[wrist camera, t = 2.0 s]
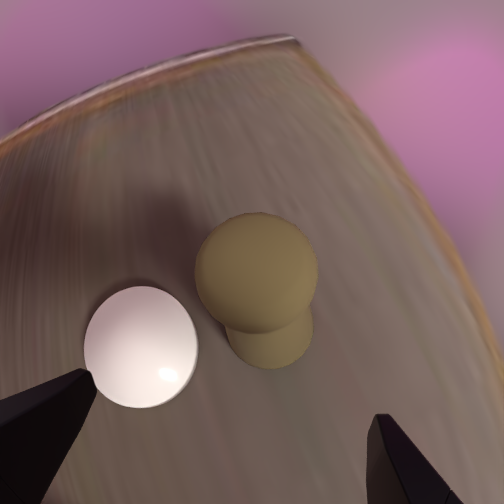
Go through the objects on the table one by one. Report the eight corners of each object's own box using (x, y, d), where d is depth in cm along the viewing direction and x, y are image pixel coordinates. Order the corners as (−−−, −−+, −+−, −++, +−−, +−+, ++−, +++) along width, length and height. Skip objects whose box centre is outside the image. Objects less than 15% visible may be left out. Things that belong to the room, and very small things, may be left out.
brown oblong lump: (221, 293, 23) (172, 205, 14) (303, 278, 23) (310, 178, 14) (232, 376, 21) (179, 345, 11) (322, 359, 20) (351, 314, 11)
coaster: (139, 432, 19) (133, 433, 18) (73, 345, 23) (66, 342, 22) (225, 346, 22) (222, 343, 21) (146, 269, 25) (141, 263, 24)
